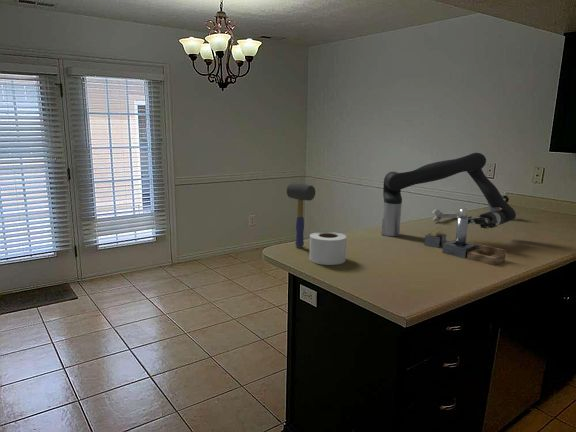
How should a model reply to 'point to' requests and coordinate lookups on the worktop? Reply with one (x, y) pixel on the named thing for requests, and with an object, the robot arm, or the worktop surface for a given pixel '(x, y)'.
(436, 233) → the tan flat block
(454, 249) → the socket block
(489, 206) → the coffeepot
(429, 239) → the guide
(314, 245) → the white toilet paper roll
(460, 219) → the metal spray bottle
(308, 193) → the rubber mallet
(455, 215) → the wrench
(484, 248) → the brown hollowed block
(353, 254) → the worktop surface
